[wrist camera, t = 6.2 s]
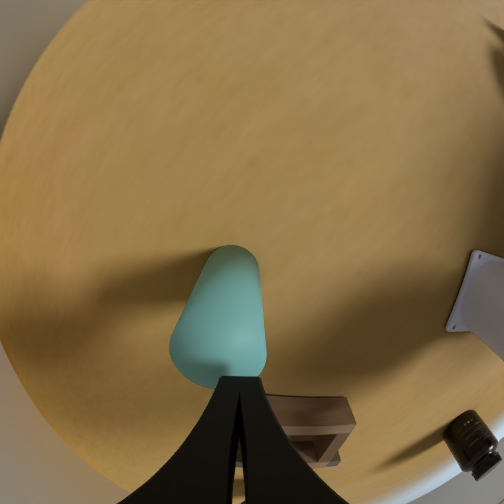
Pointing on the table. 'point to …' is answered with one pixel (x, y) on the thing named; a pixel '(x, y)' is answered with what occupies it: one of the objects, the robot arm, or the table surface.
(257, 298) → the dowel
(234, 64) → the table surface
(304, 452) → the square wooden box
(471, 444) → the supplement bottle
